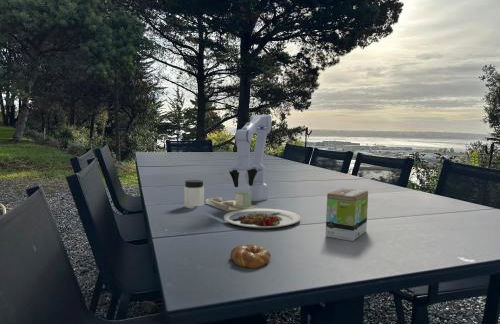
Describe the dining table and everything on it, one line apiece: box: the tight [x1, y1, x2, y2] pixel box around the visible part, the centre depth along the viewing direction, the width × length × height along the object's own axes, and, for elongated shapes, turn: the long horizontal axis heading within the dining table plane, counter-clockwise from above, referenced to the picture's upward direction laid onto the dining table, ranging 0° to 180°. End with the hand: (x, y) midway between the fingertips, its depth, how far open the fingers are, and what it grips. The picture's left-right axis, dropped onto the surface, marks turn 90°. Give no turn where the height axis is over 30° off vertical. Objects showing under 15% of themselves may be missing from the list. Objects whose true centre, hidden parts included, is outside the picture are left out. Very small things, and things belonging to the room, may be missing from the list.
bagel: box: [229, 243, 271, 269], centre depth 100 cm, size 12×11×4 cm
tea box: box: [325, 187, 369, 242], centre depth 126 cm, size 15×10×15 cm, turn 148°
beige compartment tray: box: [205, 197, 257, 212], centre depth 170 cm, size 16×20×3 cm
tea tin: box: [235, 190, 252, 207], centre depth 168 cm, size 4×7×6 cm, turn 32°
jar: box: [183, 179, 205, 209], centre depth 171 cm, size 9×8×12 cm
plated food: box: [223, 208, 301, 229], centre depth 145 cm, size 30×30×3 cm
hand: (243, 186), depth 168 cm, fingers open, 7 cm apart
